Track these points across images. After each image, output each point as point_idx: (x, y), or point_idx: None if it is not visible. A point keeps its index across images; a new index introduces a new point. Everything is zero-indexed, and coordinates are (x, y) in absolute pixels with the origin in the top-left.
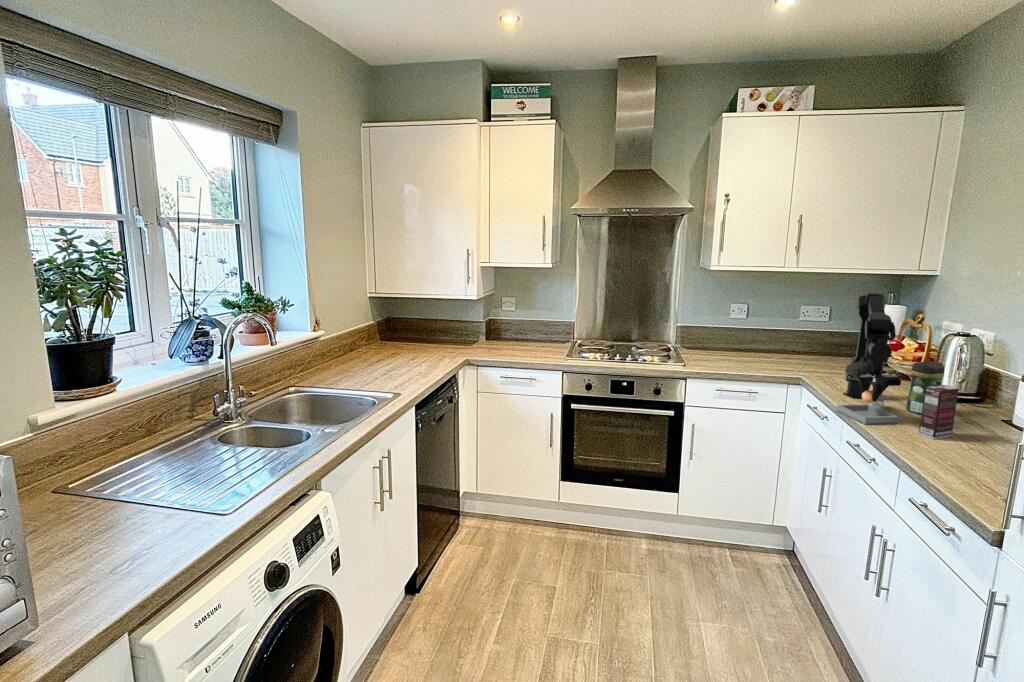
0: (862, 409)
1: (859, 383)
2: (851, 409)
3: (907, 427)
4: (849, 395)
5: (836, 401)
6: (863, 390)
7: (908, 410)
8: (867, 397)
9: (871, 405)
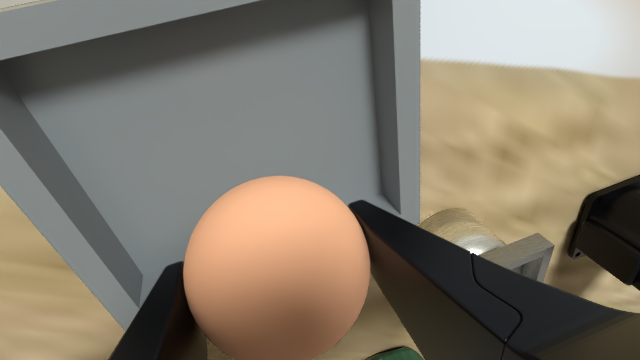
0: (383, 164)
1: (534, 294)
2: (378, 79)
3: (71, 317)
4: (624, 187)
5: (590, 78)
6: (392, 260)
7: (389, 351)
8: (198, 235)
9: (439, 236)
